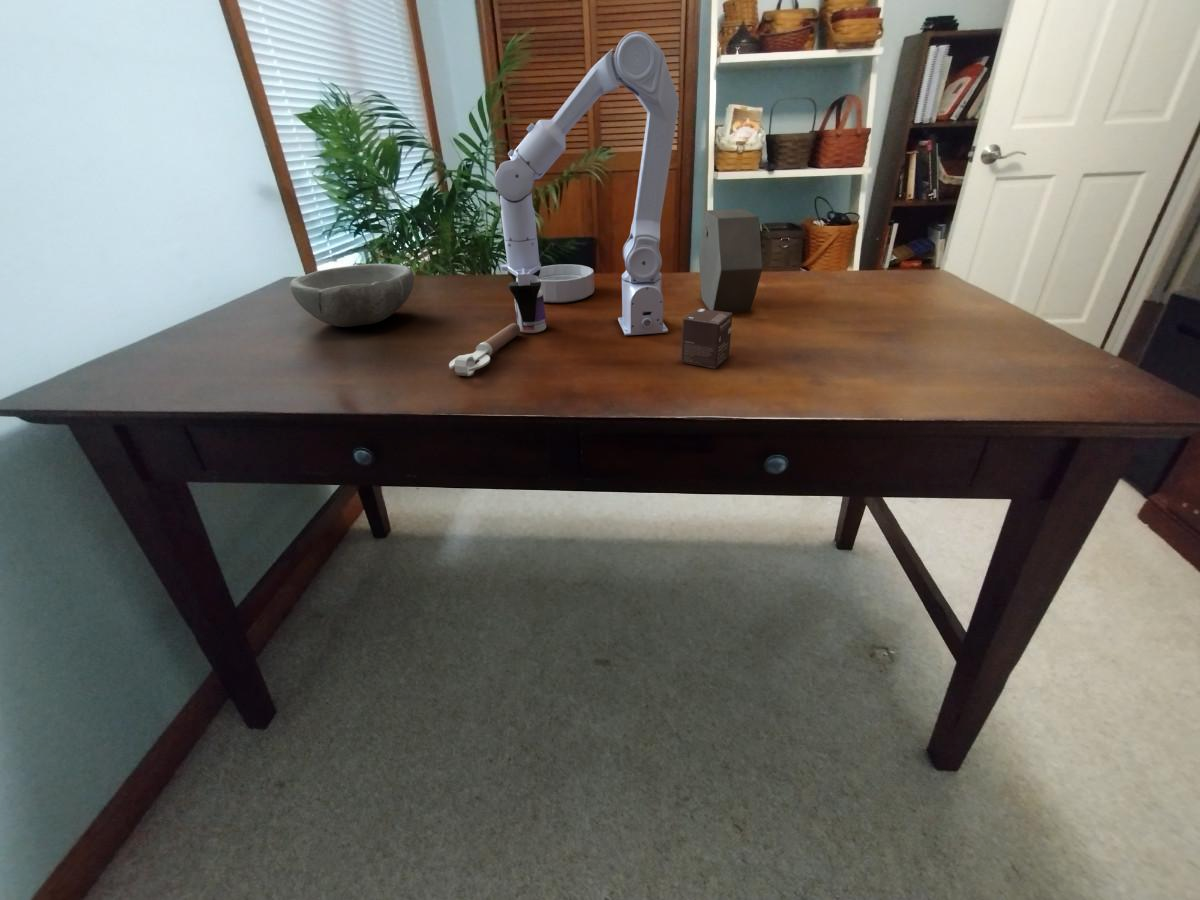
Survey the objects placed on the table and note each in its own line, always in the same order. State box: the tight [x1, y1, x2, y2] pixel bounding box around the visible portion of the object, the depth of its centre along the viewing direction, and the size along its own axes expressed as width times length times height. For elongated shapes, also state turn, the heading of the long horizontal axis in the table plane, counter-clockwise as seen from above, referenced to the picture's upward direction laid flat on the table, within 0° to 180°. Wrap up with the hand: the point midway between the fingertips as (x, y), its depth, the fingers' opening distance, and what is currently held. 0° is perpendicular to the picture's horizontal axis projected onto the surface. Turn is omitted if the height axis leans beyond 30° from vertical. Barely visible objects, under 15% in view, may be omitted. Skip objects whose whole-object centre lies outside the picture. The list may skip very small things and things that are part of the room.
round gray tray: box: [538, 263, 595, 304], centre depth 122 cm, size 15×15×5 cm
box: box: [680, 308, 734, 369], centre depth 85 cm, size 6×6×7 cm
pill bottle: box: [513, 275, 547, 334], centre depth 101 cm, size 5×5×10 cm
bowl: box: [289, 263, 415, 328], centre depth 109 cm, size 23×22×10 cm
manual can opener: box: [448, 322, 521, 377], centre depth 92 cm, size 21×6×3 cm, turn 167°
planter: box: [698, 208, 763, 313], centre depth 108 cm, size 17×8×21 cm
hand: (529, 314), depth 102 cm, fingers open, 7 cm apart
